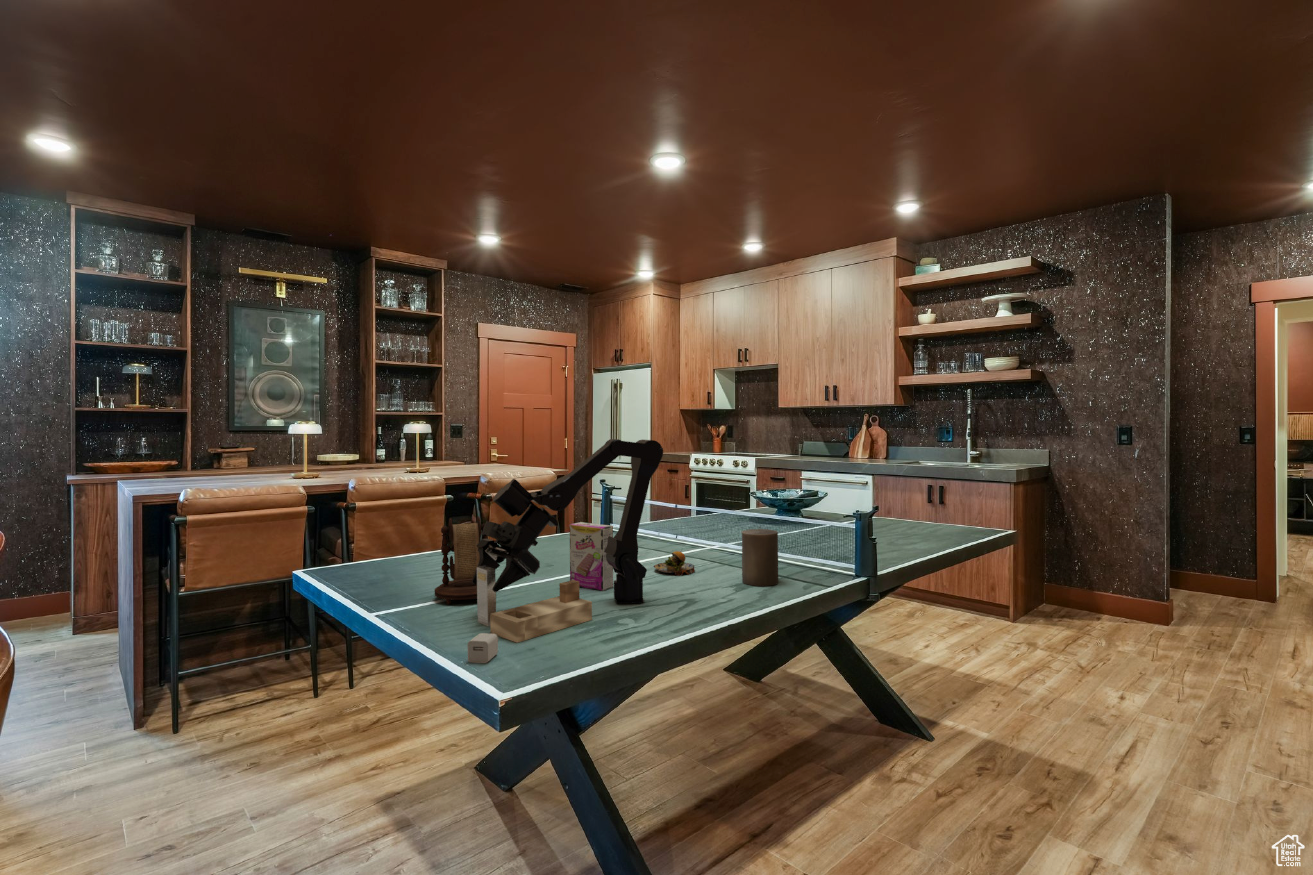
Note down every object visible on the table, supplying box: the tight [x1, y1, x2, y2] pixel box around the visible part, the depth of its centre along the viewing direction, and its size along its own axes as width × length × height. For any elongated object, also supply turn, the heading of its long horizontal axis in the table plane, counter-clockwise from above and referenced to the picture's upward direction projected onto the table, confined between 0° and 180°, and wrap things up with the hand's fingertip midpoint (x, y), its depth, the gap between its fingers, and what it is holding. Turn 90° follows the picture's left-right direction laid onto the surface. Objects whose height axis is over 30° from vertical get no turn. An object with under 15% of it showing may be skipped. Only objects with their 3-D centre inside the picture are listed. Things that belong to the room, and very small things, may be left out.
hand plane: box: [490, 580, 593, 644], centre depth 143 cm, size 20×9×8 cm, turn 138°
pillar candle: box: [741, 526, 779, 587], centre depth 180 cm, size 10×10×15 cm
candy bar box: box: [569, 521, 614, 592], centre depth 176 cm, size 11×5×16 cm, turn 58°
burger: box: [653, 548, 696, 577], centre depth 194 cm, size 12×12×8 cm
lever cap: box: [476, 566, 497, 627], centre depth 145 cm, size 2×4×12 cm, turn 43°
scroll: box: [434, 516, 489, 606], centre depth 166 cm, size 15×15×20 cm
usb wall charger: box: [467, 632, 499, 664], centre depth 125 cm, size 4×7×4 cm, turn 171°
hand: (483, 587), depth 145 cm, fingers open, 9 cm apart
